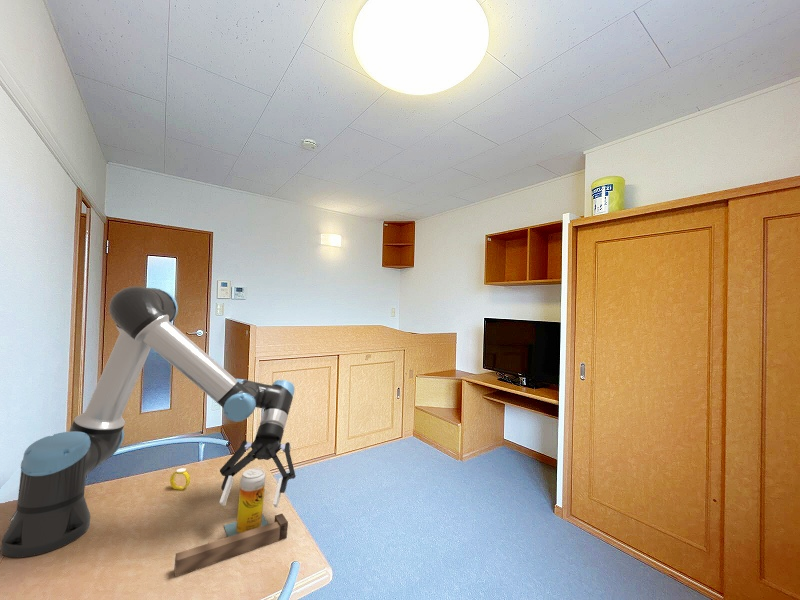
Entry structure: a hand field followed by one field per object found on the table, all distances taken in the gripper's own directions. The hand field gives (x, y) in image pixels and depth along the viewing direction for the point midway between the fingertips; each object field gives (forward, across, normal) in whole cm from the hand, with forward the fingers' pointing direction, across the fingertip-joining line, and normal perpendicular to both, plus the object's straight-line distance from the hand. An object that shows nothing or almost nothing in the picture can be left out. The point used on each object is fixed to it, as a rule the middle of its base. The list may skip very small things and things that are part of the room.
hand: (248, 505), depth 88 cm
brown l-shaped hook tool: (+9, +1, -2) cm, 10 cm away
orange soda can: (+4, 0, -7) cm, 8 cm away
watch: (-10, +29, -21) cm, 38 cm away
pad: (+4, +1, -8) cm, 8 cm away
